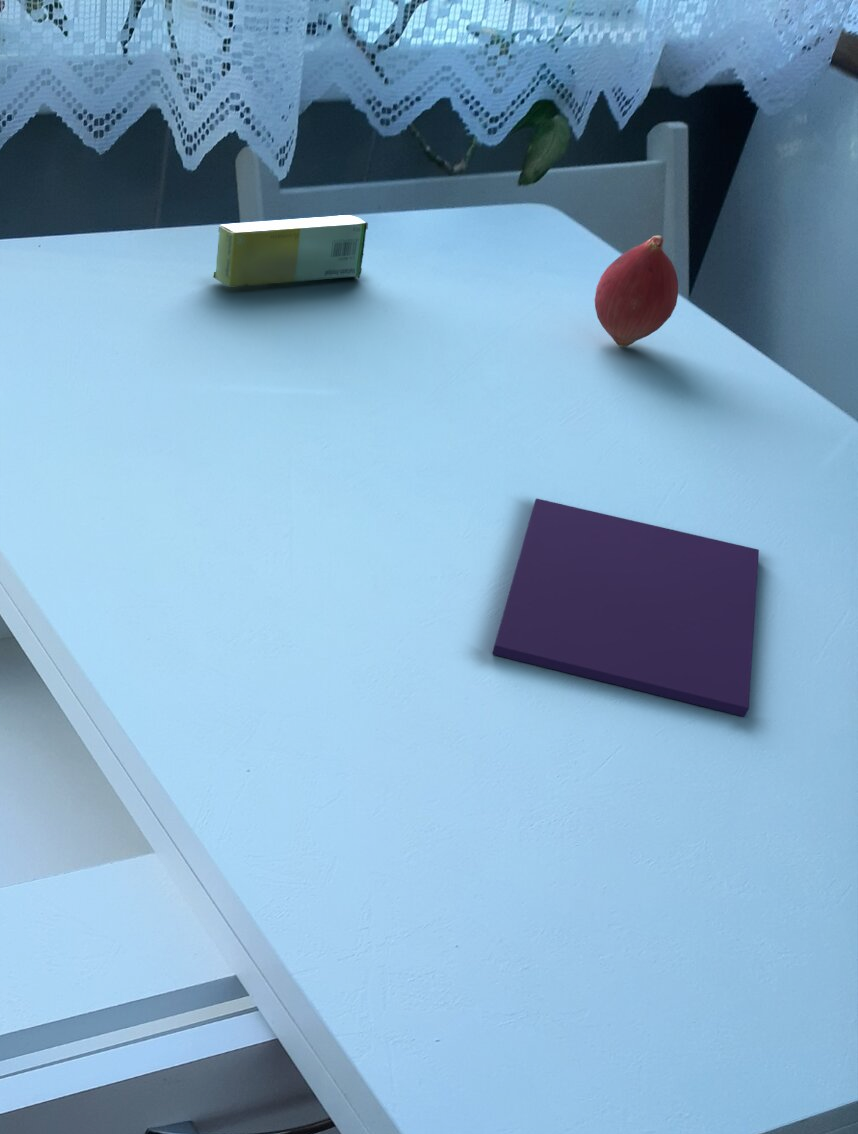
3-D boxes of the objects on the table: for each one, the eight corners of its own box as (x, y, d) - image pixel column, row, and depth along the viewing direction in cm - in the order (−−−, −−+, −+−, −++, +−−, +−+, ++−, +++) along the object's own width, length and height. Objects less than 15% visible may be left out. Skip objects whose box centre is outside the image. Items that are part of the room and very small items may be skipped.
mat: (755, 557, 95) (759, 549, 94) (744, 717, 83) (749, 708, 82) (533, 506, 97) (535, 497, 97) (491, 654, 85) (494, 645, 85)
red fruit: (570, 345, 114) (603, 233, 109) (599, 321, 118) (632, 212, 112) (642, 369, 112) (680, 257, 107) (669, 345, 116) (708, 235, 110)
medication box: (344, 267, 121) (353, 213, 119) (362, 277, 120) (371, 222, 117) (211, 278, 117) (217, 221, 115) (228, 288, 115) (234, 231, 113)
